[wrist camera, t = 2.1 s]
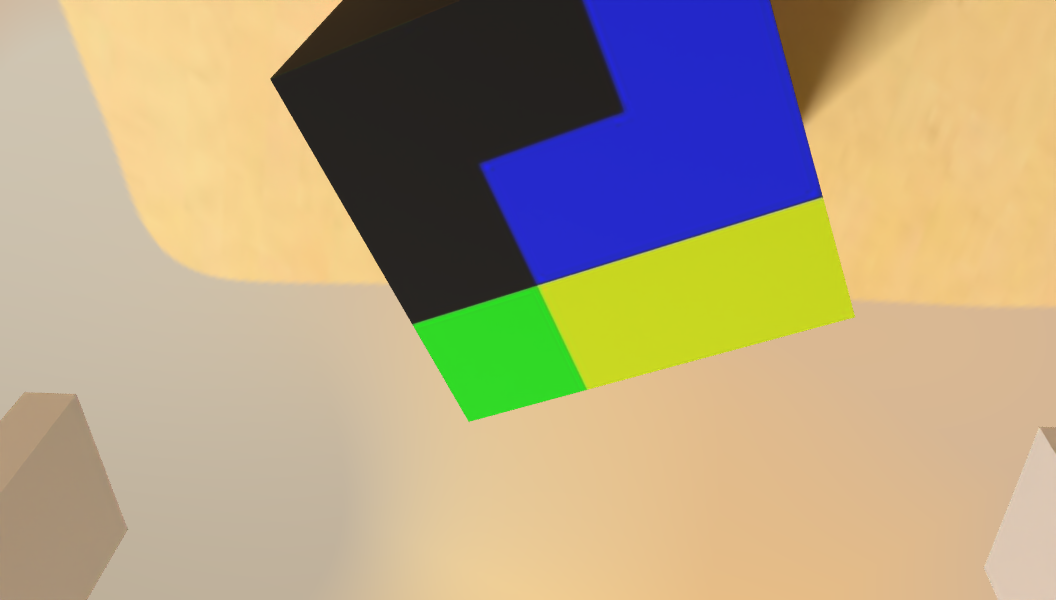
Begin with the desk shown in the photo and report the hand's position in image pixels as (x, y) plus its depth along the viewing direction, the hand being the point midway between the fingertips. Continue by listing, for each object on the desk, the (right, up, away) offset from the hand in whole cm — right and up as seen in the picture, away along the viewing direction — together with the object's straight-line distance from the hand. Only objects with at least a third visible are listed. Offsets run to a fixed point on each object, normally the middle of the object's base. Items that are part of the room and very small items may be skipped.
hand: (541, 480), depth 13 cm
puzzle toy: (+2, +10, +16) cm, 19 cm away
